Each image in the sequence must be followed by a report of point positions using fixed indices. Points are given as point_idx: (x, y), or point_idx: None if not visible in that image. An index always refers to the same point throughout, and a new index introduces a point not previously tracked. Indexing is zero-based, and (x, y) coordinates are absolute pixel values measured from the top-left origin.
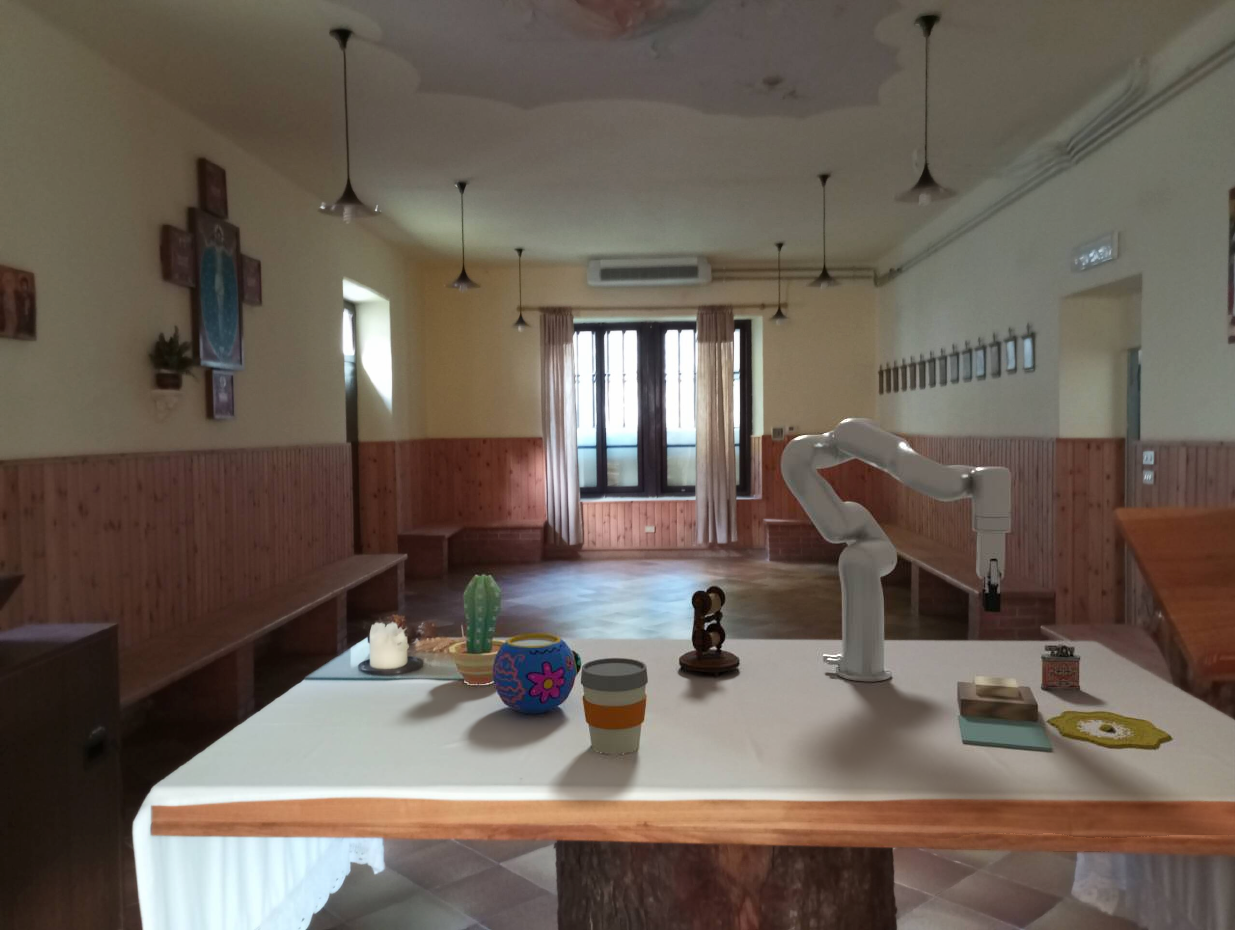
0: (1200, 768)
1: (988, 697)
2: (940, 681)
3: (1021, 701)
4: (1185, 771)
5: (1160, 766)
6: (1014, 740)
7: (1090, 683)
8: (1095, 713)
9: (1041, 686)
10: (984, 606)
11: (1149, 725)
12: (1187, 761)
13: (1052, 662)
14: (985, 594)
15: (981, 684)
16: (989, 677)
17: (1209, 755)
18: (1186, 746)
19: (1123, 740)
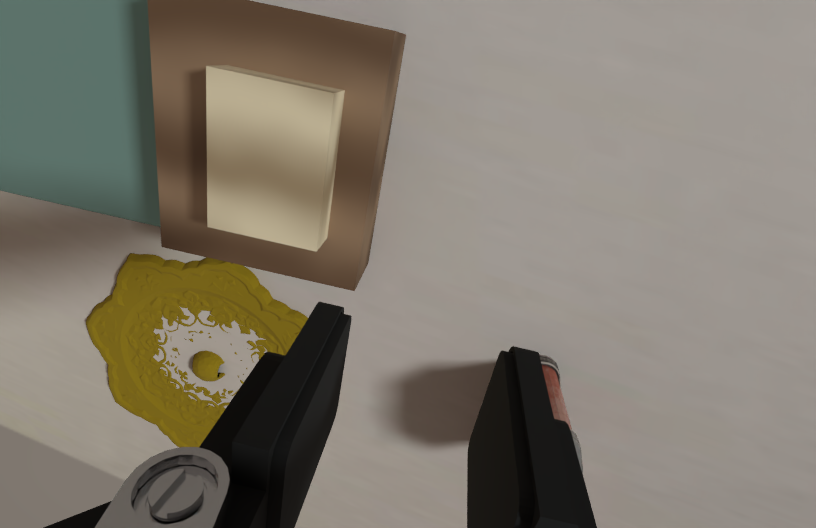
0: (41, 417)
1: (196, 106)
2: (670, 24)
3: (182, 208)
4: (13, 389)
5: (19, 363)
6: (10, 106)
7: (585, 482)
8: None
9: (541, 359)
10: (305, 324)
11: None
12: (68, 415)
13: None
14: (241, 434)
15: (209, 92)
16: (322, 160)
17: (116, 460)
18: (152, 451)
19: (144, 365)
